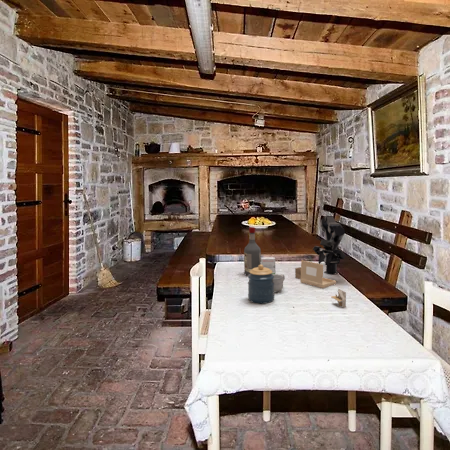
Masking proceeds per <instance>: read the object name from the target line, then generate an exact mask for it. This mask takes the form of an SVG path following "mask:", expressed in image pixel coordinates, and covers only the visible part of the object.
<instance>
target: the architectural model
mask: <svg viewBox="0 0 450 450" xmlns="http://www.w3.org/2000/svg"><path fill="white" fill-rule="evenodd" d="M337 292H338V294H335V295H331V296H330V298H331V299H333V300H335V301H337V302H338V305H339V307H341V308H346V307H347V306H346V305H347V304H346V303H347V301H346V300H347V291H344V290H343V289H340V288H338V289H337Z"/></svg>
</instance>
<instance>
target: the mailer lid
mask: <svg viewBox="0 0 450 450" xmlns="http://www.w3.org/2000/svg"><path fill="white" fill-rule="evenodd" d="M300 263H301V264H300V267H301V279H304V280H308V281H312V282H316V283H320V284H323V278H324V264H322V263H320V264H319V263H317V262H312V261H307V260H301V262H300Z"/></svg>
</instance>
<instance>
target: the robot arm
mask: <svg viewBox="0 0 450 450" xmlns="http://www.w3.org/2000/svg"><path fill="white" fill-rule="evenodd" d="M319 224H320V225H319V226H320V228H321V231H322V232H323V233H324V236H325V239H323V238H322V239H321V240H320V243H319V244H320V246H318V245H314V247H312V249H313V251H314V252H315V254H316V255H317V256H318V264H322V263H324V265H325V266H326V268H325V269H326V270H325V271H324V273H325V274H330V275H336V274H339V271H338V269H337V268H338V265H340V263H341V262H340V260H344V259H345V257H346V255H345V253H344V252H343V250H341V249H340V248H339V245H340V243H341V242H342V240H343V238H344V235H345V233H346V231H345V228H343V226H342V225H341V223H339V222H336V220H335V218H334V215H325V216H324V217H323V218H321V219H320V222H319ZM322 247H323V248H322ZM335 273H336V274H335Z"/></svg>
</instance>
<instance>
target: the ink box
mask: <svg viewBox="0 0 450 450" xmlns="http://www.w3.org/2000/svg"><path fill="white" fill-rule="evenodd" d="M261 265H263V267H265V268H269V269H270V270H272V274H276V258H275V257H274V256H273V257H261Z"/></svg>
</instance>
